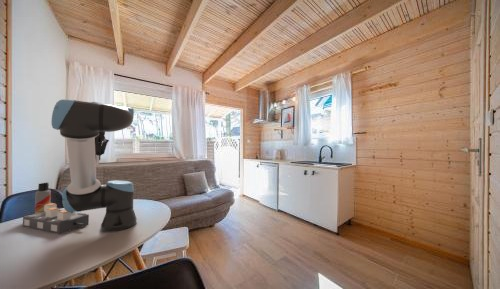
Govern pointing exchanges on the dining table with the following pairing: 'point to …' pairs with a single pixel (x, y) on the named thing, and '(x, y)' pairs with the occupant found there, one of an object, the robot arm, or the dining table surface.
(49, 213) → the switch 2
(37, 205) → the lotion bottle
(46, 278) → the dining table surface
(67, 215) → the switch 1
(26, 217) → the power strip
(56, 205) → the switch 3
